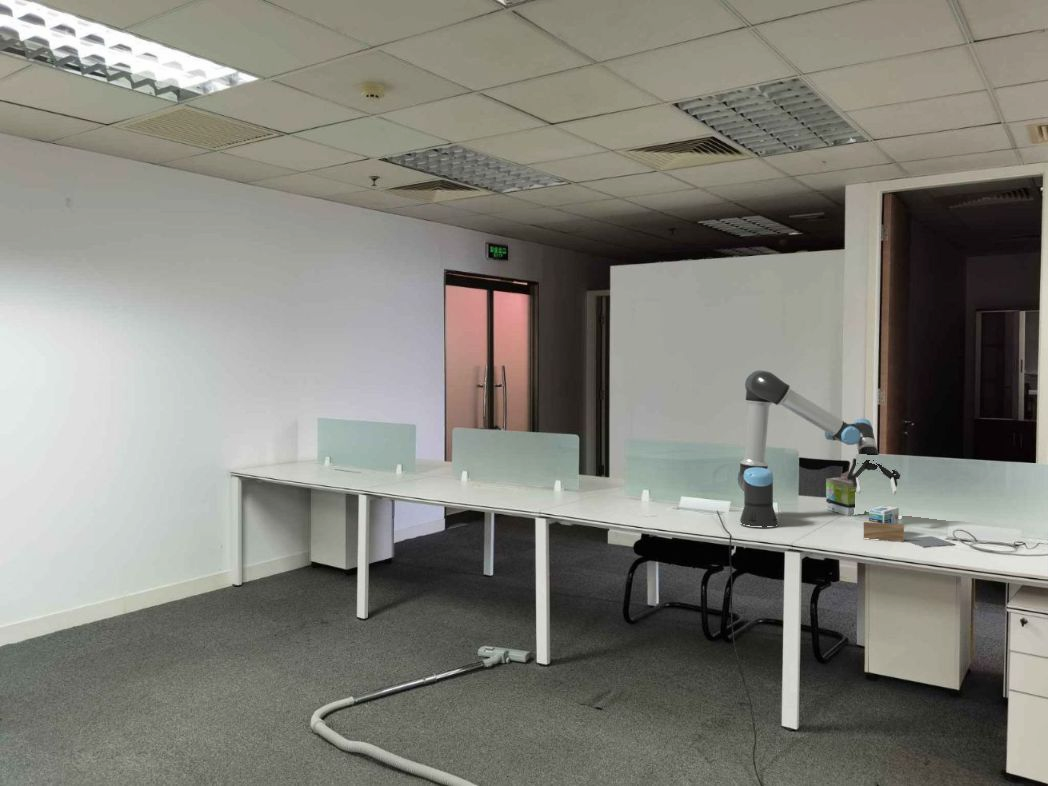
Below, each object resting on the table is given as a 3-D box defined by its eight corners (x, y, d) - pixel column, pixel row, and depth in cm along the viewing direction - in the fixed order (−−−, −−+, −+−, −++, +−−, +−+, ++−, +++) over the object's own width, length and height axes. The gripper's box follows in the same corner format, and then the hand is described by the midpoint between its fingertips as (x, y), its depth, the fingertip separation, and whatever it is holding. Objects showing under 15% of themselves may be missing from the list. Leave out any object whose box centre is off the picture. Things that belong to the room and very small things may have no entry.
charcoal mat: (923, 547, 294) (923, 546, 294) (901, 539, 306) (901, 538, 306) (955, 545, 296) (955, 544, 296) (931, 537, 309) (931, 536, 308)
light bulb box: (884, 539, 308) (884, 511, 307) (868, 536, 313) (868, 508, 313) (899, 534, 314) (899, 507, 314) (883, 531, 320) (883, 505, 319)
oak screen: (903, 542, 302) (903, 525, 302) (863, 539, 308) (863, 522, 308) (903, 541, 303) (903, 524, 303) (863, 538, 309) (863, 521, 309)
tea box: (825, 510, 364) (825, 477, 363) (843, 508, 367) (843, 476, 366) (847, 516, 350) (847, 482, 349) (866, 514, 353) (866, 481, 352)
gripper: (897, 456, 338) (908, 498, 324) (835, 456, 343) (843, 497, 329) (901, 445, 333) (911, 487, 319) (837, 445, 337) (845, 487, 323)
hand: (877, 492), depth 324 cm, fingers open, 13 cm apart
